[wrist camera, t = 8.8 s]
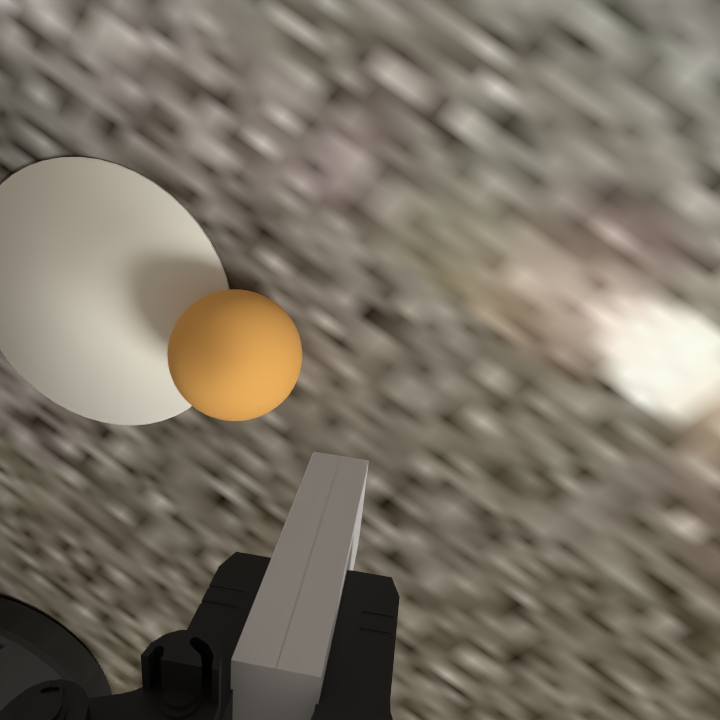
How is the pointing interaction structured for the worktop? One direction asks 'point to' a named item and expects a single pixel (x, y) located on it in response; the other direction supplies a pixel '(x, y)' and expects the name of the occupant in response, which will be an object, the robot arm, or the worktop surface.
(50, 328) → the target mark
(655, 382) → the worktop surface
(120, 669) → the worktop surface
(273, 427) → the worktop surface
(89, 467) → the worktop surface
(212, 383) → the ball
